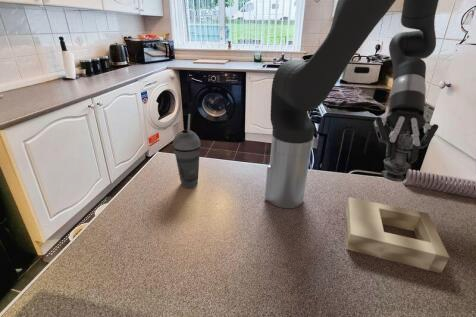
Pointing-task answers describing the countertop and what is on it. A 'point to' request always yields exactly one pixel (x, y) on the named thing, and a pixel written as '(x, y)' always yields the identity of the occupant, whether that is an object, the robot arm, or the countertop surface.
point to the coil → (441, 183)
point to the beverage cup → (187, 156)
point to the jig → (390, 245)
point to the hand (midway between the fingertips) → (401, 160)
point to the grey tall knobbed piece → (398, 159)
